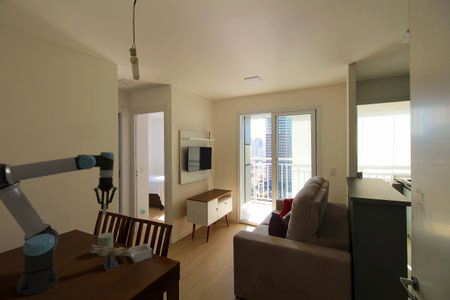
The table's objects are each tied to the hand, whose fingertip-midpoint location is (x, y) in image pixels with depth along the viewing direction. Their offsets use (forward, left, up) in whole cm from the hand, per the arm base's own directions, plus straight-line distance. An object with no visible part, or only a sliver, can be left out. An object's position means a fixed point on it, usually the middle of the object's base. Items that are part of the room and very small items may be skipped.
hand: (104, 214), depth 132 cm
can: (+3, +9, -28) cm, 30 cm away
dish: (+19, -11, -28) cm, 35 cm away
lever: (+1, -8, -21) cm, 23 cm away
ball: (+19, -11, -26) cm, 34 cm away
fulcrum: (+2, -11, -28) cm, 30 cm away
